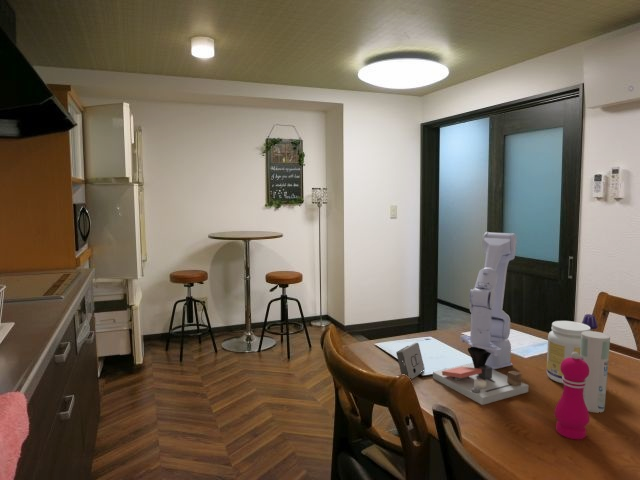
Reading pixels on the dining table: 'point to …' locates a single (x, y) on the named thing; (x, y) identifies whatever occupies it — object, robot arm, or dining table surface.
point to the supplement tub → (563, 345)
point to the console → (481, 386)
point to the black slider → (485, 372)
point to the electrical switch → (410, 360)
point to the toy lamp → (590, 321)
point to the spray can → (595, 368)
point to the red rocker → (461, 372)
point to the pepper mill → (572, 399)
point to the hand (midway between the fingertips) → (478, 371)
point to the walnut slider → (514, 378)
